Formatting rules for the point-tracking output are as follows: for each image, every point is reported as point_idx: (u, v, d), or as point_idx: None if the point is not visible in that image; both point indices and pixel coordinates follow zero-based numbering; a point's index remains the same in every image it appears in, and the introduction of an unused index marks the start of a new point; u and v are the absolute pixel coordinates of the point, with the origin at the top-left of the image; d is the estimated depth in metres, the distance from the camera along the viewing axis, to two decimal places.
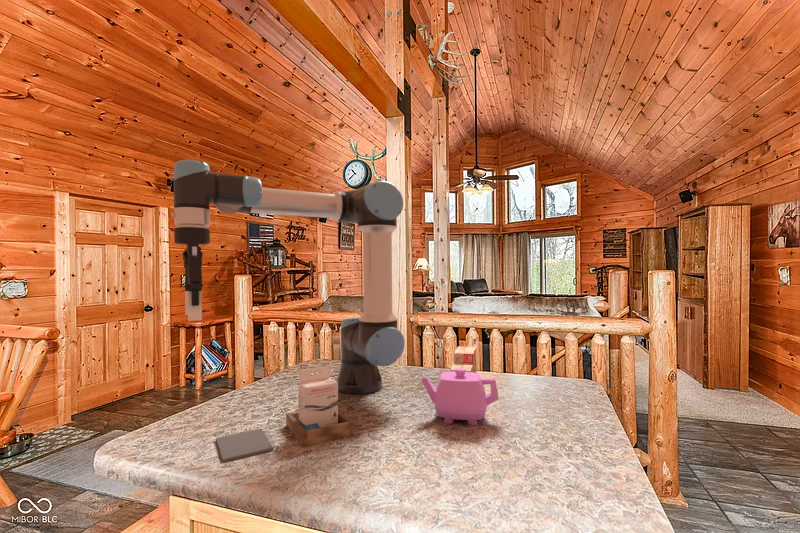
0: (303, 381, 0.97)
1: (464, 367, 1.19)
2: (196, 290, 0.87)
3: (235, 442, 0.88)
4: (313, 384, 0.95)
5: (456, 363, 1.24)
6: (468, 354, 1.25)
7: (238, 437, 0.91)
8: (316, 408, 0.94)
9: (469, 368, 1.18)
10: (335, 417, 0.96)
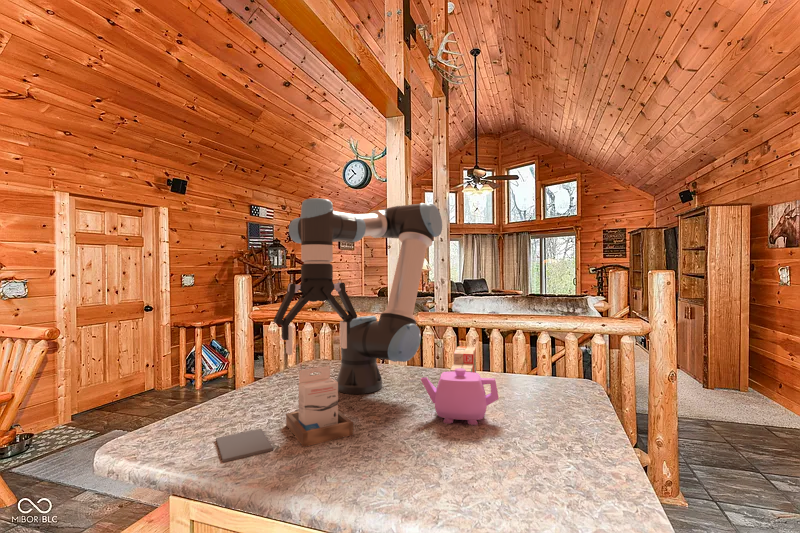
0: (303, 381, 0.97)
1: (464, 367, 1.19)
2: (281, 325, 0.92)
3: (235, 442, 0.88)
4: (313, 384, 0.95)
5: (456, 363, 1.24)
6: (468, 354, 1.24)
7: (238, 437, 0.91)
8: (316, 408, 0.94)
9: (469, 368, 1.18)
10: (335, 417, 0.96)
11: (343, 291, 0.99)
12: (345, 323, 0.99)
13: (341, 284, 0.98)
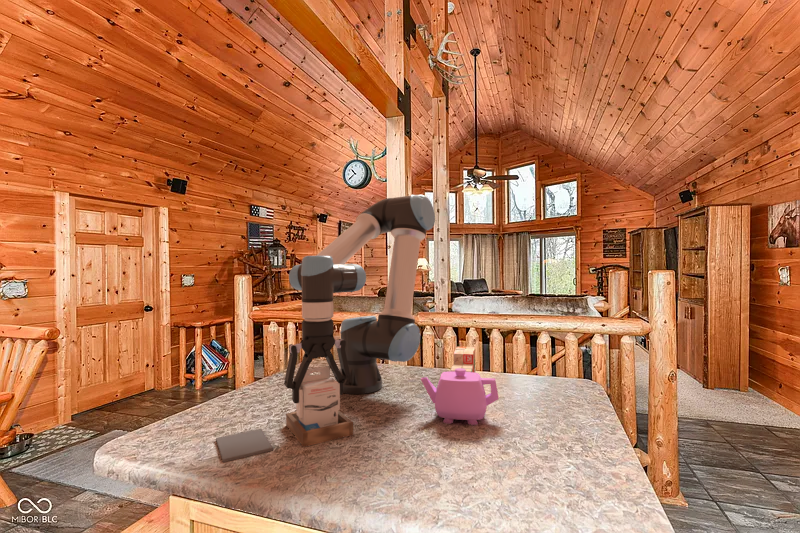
0: (303, 381, 0.97)
1: (464, 368, 1.18)
2: (292, 389, 0.93)
3: (235, 442, 0.88)
4: (313, 384, 0.95)
5: (456, 364, 1.23)
6: (468, 355, 1.24)
7: (238, 437, 0.91)
8: (316, 408, 0.94)
9: (469, 369, 1.17)
10: (335, 417, 0.96)
11: (342, 349, 0.98)
12: (338, 384, 0.98)
13: (342, 342, 0.98)
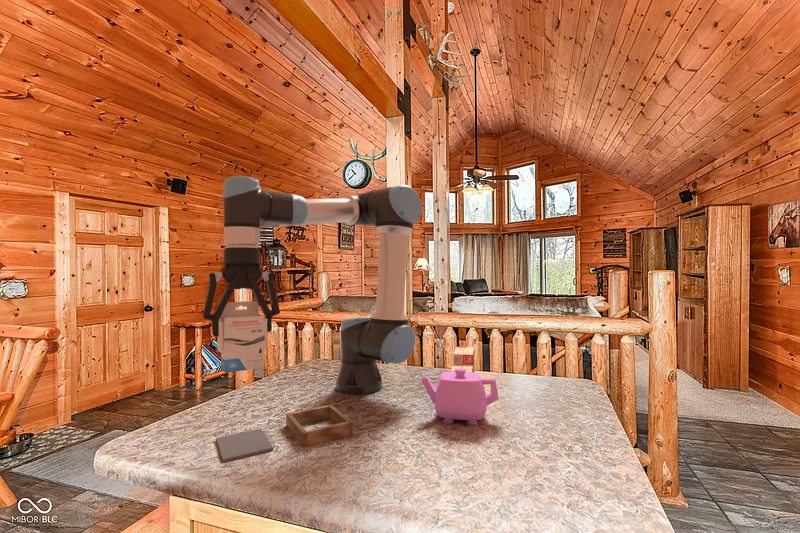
0: (226, 315, 0.89)
1: (464, 368, 1.18)
2: (211, 320, 0.85)
3: (235, 442, 0.88)
4: (235, 316, 0.87)
5: (456, 364, 1.23)
6: (468, 355, 1.23)
7: (238, 437, 0.91)
8: (238, 342, 0.86)
9: (470, 369, 1.17)
10: (261, 354, 0.88)
11: (270, 281, 0.91)
12: (265, 319, 0.90)
13: (270, 273, 0.91)
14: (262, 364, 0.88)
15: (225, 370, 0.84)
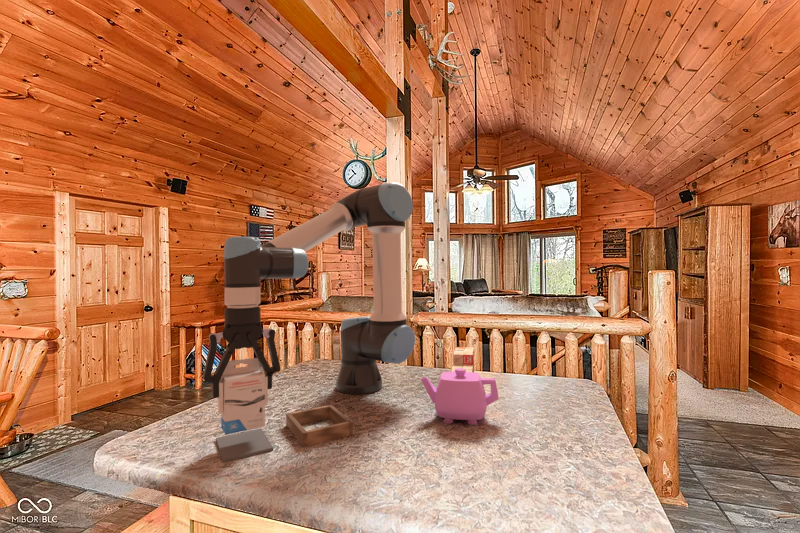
0: (227, 374, 0.89)
1: (465, 368, 1.17)
2: None
3: (235, 442, 0.88)
4: (236, 376, 0.87)
5: (456, 364, 1.22)
6: (468, 355, 1.23)
7: (238, 437, 0.91)
8: (239, 403, 0.86)
9: (470, 369, 1.16)
10: (261, 413, 0.88)
11: (271, 339, 0.91)
12: (266, 378, 0.90)
13: (271, 331, 0.91)
14: (262, 423, 0.88)
15: (225, 432, 0.84)
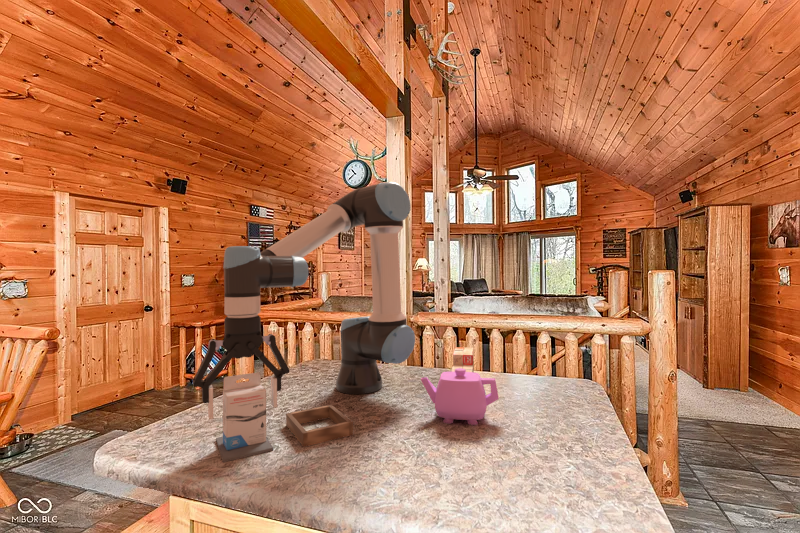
0: (228, 389, 0.89)
1: (465, 369, 1.17)
2: (201, 387, 0.84)
3: None
4: (237, 392, 0.87)
5: (455, 365, 1.22)
6: (467, 355, 1.23)
7: None
8: (240, 419, 0.86)
9: (470, 370, 1.16)
10: (263, 428, 0.88)
11: (273, 345, 0.91)
12: (275, 379, 0.91)
13: (271, 337, 0.91)
14: (264, 438, 0.89)
15: (227, 448, 0.85)
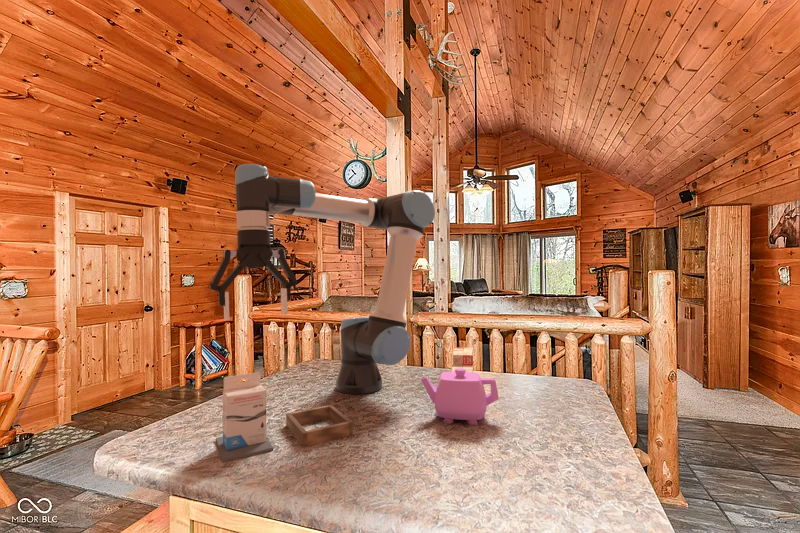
0: (228, 389, 0.89)
1: (465, 369, 1.17)
2: (217, 291, 0.92)
3: None
4: (237, 392, 0.87)
5: (455, 365, 1.22)
6: (467, 356, 1.22)
7: None
8: (240, 419, 0.86)
9: (470, 370, 1.16)
10: (263, 428, 0.88)
11: (282, 257, 0.99)
12: (285, 289, 0.99)
13: (279, 250, 0.99)
14: (264, 438, 0.89)
15: (227, 448, 0.85)
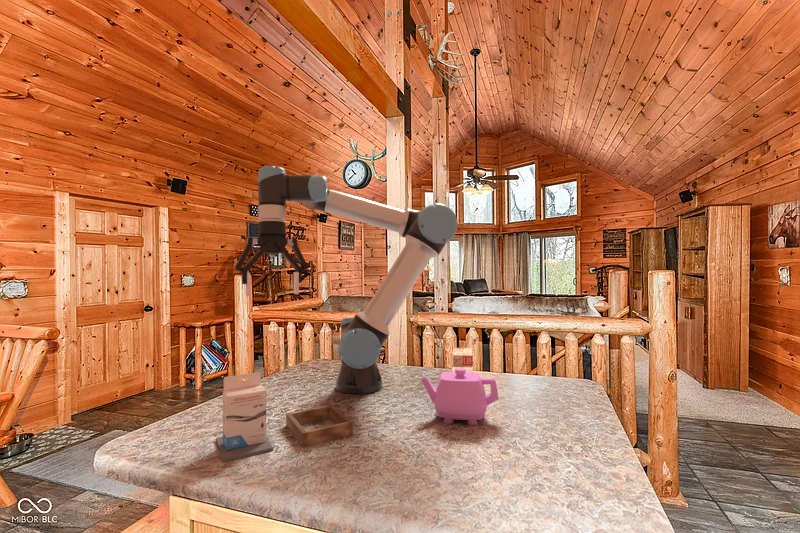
0: (228, 389, 0.89)
1: (465, 369, 1.16)
2: (241, 272, 1.10)
3: None
4: (237, 392, 0.87)
5: (455, 365, 1.21)
6: (467, 356, 1.22)
7: None
8: (240, 419, 0.86)
9: (470, 370, 1.15)
10: (263, 428, 0.88)
11: (295, 246, 1.17)
12: (297, 273, 1.17)
13: (293, 240, 1.16)
14: (264, 438, 0.89)
15: (227, 448, 0.85)
